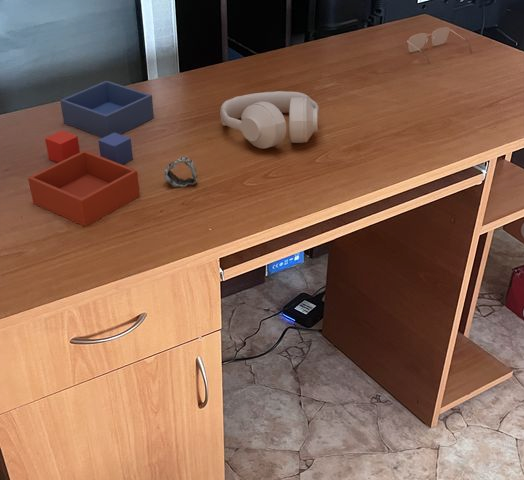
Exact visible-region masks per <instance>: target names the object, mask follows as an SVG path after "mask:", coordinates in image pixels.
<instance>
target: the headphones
mask: <svg viewBox="0 0 524 480" xmlns="http://www.w3.org/2000/svg"><path fill="white" fill-rule="evenodd" d="M319 113H320V107H319V104H318V103H317V101H314V100H313V99H312V98H311V97H310V96H309V95H308V94H305V93H303V92H299V91H283V90H277V91H276V90H275V91H265V92H256V93H255V92H254V93H249V94H244V95H239V96H238V95H237V96H234V97H232V98H229V99H227V100H226V101H224V102H223V103H222V104H221V106H220V110H219V115H220V121H221V123H222V126H224V127H225V126H227V127H229V128H231V129H235V130H237V131H240V132H241V134H242V135H243V137H244V139H246V140H247V141H248V142H249V143H250V144H252V146H254V147H256V148H257V149H269V148H271V147H274V146H277V145H280V144H281V143H282V142H283V141H284V139H285V138H286V135H287V122H286V118H285V117H284V115H283V114H288V131H289V135H288V136H289V140H290V143H293V144H304V143H308V141H309V140H310V139H311V137H312V135H313V134H314V133H318V130H319V129H318V128H319V115H320V114H319Z"/></svg>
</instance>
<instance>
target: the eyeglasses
mask: <svg viewBox="0 0 524 480" xmlns="http://www.w3.org/2000/svg"><path fill="white" fill-rule="evenodd" d="M450 32H452V33H453V34H455V35H456V36H458V37H459V38H461V39H463V40H464V41H465V42H467V43H468V44H469V50H470V53H472V52H473V51H472V46H471V43H470V42H469V41H468V40H467V39H465V38H464V37H462V36H461V35H460V34H459V33H457V32H455V31H454V30H453V29H451V28H450V27H448V26H445V27H439V28H437V29H435V30H433V32H432V33H429V34H428V33H426V32H420V33H417V34H413V35H412V36H410V37H409V39H408V40H406V42H407V44H408V45H407V46H408V49H407V50H408V52H410V53H414V52H417V51H419V52H421V53H422V54H423V55H424V56H426V58H427V62H428V64H429V65H430V64H431V62H430V59H429V56H428V55H427V54H426V52H424V51H422V50H421V49H423V48H424V46H425V45H426V44H427V43H428V41H429V38H428V37H429V36H431V37H430V39H431V46H441V45H443V44H444V43H445V42H446V41H447V39H448V38H449V37H448V36H449V34H450Z"/></svg>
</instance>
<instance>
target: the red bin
mask: <svg viewBox="0 0 524 480" xmlns="http://www.w3.org/2000/svg"><path fill="white" fill-rule="evenodd" d="M27 180H28V183H29V188H30V194H31V199H32V202H33V203H32V204H34V205H36V206H39V207H41V208H42V209H45V210H47V211H49V212H52V213H54V214H56V215H58V216H61V217H63V218H65V219H67V220H70V221H72V222H74V223H76V224H78V225H80V226H83V227H86V228H87V227H88V226H90V225H93V223H95V222H97V221H99V220H100V219H102V218H104V217H106V216H108V215H109V214H111V213H113V212H115V211H116V210H118V209H119V208H121V207H123V206H125V205H127V204H129V203H130V202H132V201H134V200H135V199H138V198H139V197H141V192H140V184H139V174H138V170H137V169H134V168H131V167H129V166H126V165H124V164H123V165H121V164H119V163H116V162H114V161H111V160H108V159H106V158H103V157H101V156H100V155H99V154H95V153H94V152H93V153H92V152H90V151H87V150H85V149H84V150H82V151H80V153H78V154H76V155H74V156H71V157H69V158H67V159H65V160H63V161H61V162H59V163H58V162H56V163H55V164H52V165H50V166H49V167H47V168H45V169H43V170H41V171H39V172H37V173H35V174H32V175H31V176H28V177H27Z"/></svg>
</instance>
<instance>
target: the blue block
mask: <svg viewBox="0 0 524 480" xmlns="http://www.w3.org/2000/svg"><path fill="white" fill-rule="evenodd" d="M97 143H98V149H99V156H101V157H103V158H106V159H108V160H111V161H114V162H116V163H119V164H121V165H124V164H126V163H128V162H131V161H133V160H134V156H133V155H134V154H133V147H132V138H131V137H130V136H129V137H128V136H126V135H123V134H118V133H115V132H114V133H112V134H110V135H108V136H106V137H104V138H102V137H101V138H100V139H98V142H97Z"/></svg>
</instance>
